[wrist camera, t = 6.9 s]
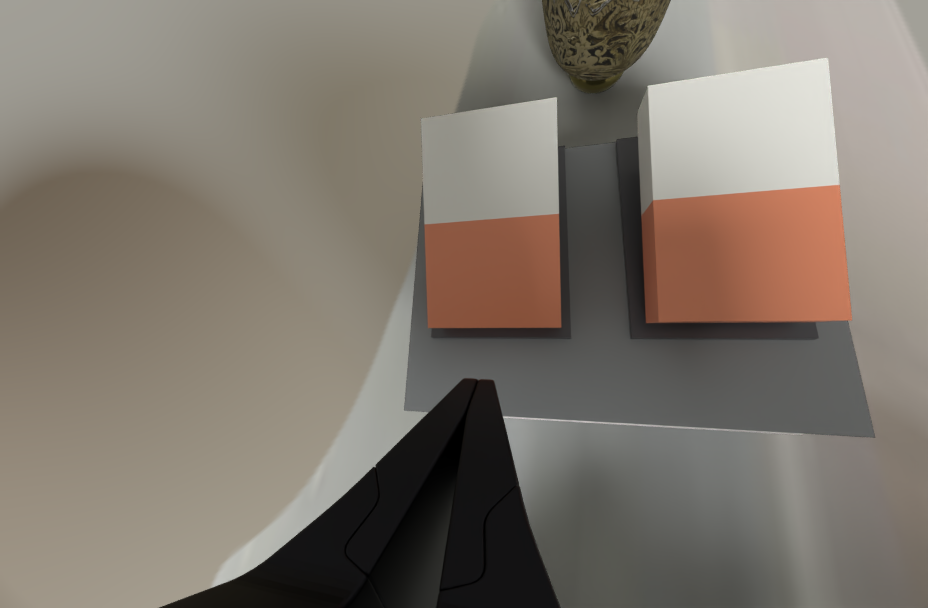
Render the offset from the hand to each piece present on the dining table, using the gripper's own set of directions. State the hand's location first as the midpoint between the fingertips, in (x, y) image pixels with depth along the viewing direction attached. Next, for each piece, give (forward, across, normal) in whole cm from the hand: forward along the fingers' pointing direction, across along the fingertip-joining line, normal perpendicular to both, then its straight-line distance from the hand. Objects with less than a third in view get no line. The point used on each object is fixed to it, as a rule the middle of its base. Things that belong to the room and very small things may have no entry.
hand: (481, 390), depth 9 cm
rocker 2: (+7, -8, -2) cm, 11 cm away
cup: (+24, -5, -7) cm, 26 cm away
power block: (+12, -4, +5) cm, 14 cm away
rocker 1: (+7, 0, -2) cm, 7 cm away
